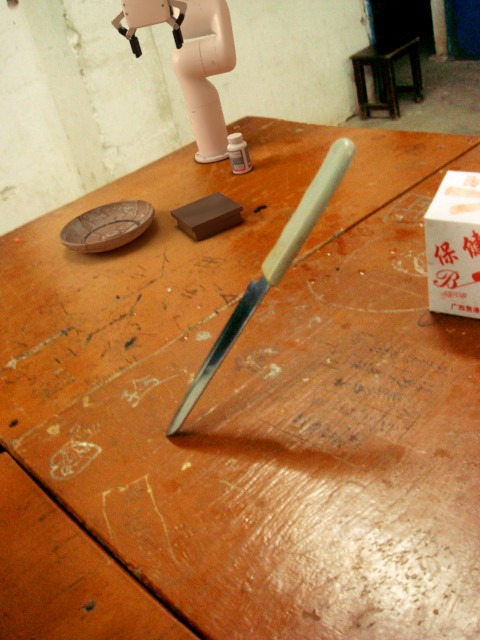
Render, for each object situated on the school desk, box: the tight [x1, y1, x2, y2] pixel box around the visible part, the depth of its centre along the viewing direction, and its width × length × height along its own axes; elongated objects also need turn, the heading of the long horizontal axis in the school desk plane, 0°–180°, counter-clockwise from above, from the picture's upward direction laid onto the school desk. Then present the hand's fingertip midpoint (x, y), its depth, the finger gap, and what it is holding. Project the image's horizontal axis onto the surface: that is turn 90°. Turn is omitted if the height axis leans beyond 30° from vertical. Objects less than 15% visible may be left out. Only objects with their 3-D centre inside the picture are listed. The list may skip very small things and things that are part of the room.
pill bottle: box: [227, 132, 253, 175], centre depth 171 cm, size 5×5×10 cm
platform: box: [169, 191, 244, 242], centre depth 148 cm, size 13×13×4 cm
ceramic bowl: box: [58, 199, 156, 254], centre depth 153 cm, size 23×24×5 cm
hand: (159, 52), depth 143 cm, fingers open, 9 cm apart
